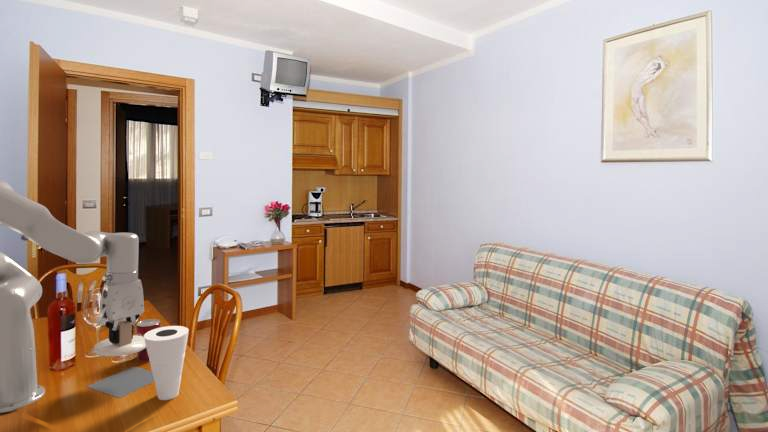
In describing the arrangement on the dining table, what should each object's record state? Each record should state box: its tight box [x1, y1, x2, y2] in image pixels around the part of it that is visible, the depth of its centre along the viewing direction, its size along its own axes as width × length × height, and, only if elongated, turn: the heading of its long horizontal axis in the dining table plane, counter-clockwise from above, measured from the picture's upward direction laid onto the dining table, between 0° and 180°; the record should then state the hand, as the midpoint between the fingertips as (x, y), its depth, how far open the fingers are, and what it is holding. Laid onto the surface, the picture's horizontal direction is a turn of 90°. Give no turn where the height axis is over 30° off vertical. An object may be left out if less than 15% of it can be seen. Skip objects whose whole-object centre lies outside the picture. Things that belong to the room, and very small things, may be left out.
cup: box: [144, 325, 190, 401], centre depth 113 cm, size 11×11×18 cm
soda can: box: [135, 318, 162, 362], centre depth 137 cm, size 7×7×12 cm
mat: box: [86, 366, 155, 399], centre depth 121 cm, size 14×14×1 cm
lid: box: [93, 319, 146, 357], centre depth 119 cm, size 13×13×7 cm
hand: (121, 339), depth 120 cm, fingers closed on lid, 3 cm apart
